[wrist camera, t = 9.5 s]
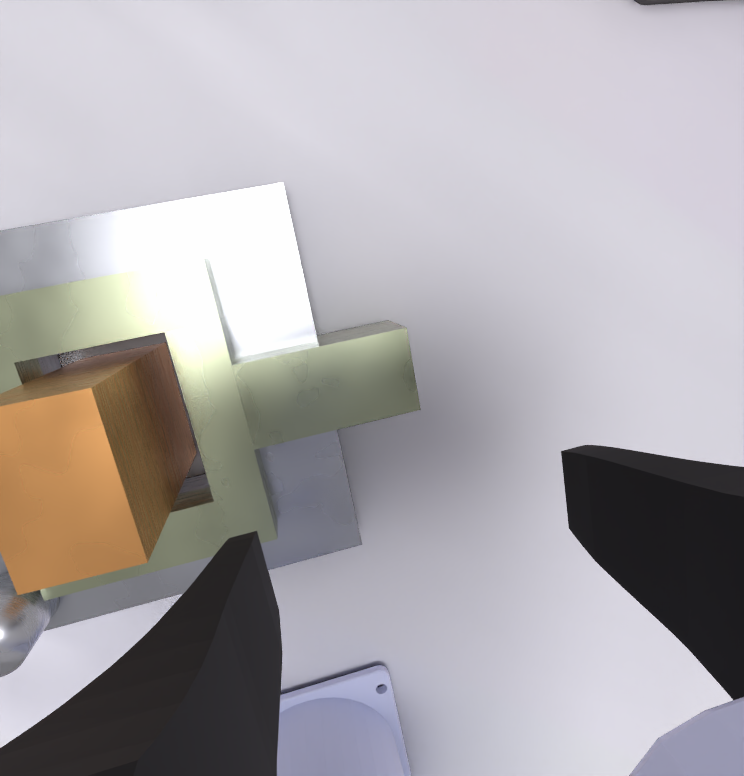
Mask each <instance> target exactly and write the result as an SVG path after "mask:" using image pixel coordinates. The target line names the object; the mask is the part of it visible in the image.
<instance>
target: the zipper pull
mask: <svg viewBox="0 0 744 776" xmlns="http://www.w3.org/2000/svg"><path fill="white" fill-rule="evenodd" d="M635 1H636V2H638V3H639V4H641V5H653V4H669V3H684V2H700V1H721V0H635Z"/></svg>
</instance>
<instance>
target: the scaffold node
mask: <svg viewBox="0 0 744 776" xmlns="http://www.w3.org/2000/svg"><path fill="white" fill-rule="evenodd" d="M162 332H164V333H165V336H166V339H167V343H168V346H169V350H170V353H171V356H172V360H173V363H174V367H175V370H176V374H177V377H178V380H179V384H180V387H181V391H182V394H183V397H184V401H185V404H186V408H187V411H188V414H189V418H190V421H191V425H192V428H193V431H194V435H195V438H196V442H197V445H198V448H199V452H200V455H201V459H202V462H203V465H204V469H205V472H206V474H203V475H199V476H195V477H191V478H187V479H185V480H184V482H183V485H182V487H181V489H180V491H179V494H178V496H177V498H176V500H175V503H174V505H173V507H172V509H171V512H170V514H169V516H168V518H167V521H166V523H165V525H164V527H163V530H162V532H161V534H160V536H159V539H158V541H157V543H156V545H155V548H154V550H153V552H152V554H151V556H150V559H149V561H148V563H145V564H141V565H137V566H133V567H129V568H125V569H121V570H117V571H113V572H109V573H105V574H101V575H97V576H93V577H89V578H85V579H81V580H77V581H73V582H69V583H65V584H61V585H57V586H53V587H49V588H45V589H41V590H37V591H33V592H29V593H25V594H21V595H17V592H16V590H15V587H14V585H13V582H12V580H11V577H10V575H9V572H8V570H7V567H6V565H5V562H4V560H3V557H2V555H1V552H0V677H2V676H5V675H7V674H9V673H11V672H13V671H14V670H16V669H17V668H18V667H19V666H20V665H21V664H22V663H23V661H24V660H25V658H26V657H27V655H28V654H29V652H30V651H31V649H32V648H33V646H34V645H35V643H36V642H37V640H38V638H39V637H40V635H41V634H42V632H43V631H46V630H50V629H53V628H57V627H61V626H64V625H68V624H72V623H75V622H79V621H83V620H86V619H90V618H94V617H97V616H101V615H105V614H108V613H112V612H116V611H119V610H123V609H127V608H130V607H134V606H138V605H141V604H145V603H149V602H152V601H156V600H160V599H164V598H167V597H171V596H175V595H178V594H182V593H185V591H186V590H187V589H188V588H189V587H190V586H191V584H192V583H193V582H194V581H195V579H196V578H197V577H198V576H199V574H200V573H201V572H202V571H203V569H204V568H205V567H206V566H207V564H208V563H209V562H210V561H211V559H212V558H213V557H214V556H215V554H216V553H217V552H218V550H219V549H220V548H221V547H222V545H223V544H224V543H225V542H226V541H227V540H228V539H229V538H231V537H235V536H239V535H243V534H246V533H250V532H254V531H257V532H258V536H259V540H260V543H261V547H262V551H263V554H264V558H265V562H266V565H267V569H268V570H270V569H274V568H277V567H281V566H285V565H288V564H292V563H296V562H299V561H303V560H307V559H310V558H314V557H318V556H322V555H325V554H329V553H333V552H336V551H340V550H344V549H347V548H351V547H355V546H358V545H362V542H361V537H360V533H359V528H358V523H357V519H356V514H355V510H354V505H353V500H352V496H351V491H350V487H349V482H348V478H347V473H346V468H345V464H344V459H343V455H342V450H341V445H340V441H339V436H338V432H337V430H338V429H342V428H346V427H351V426H355V425H359V424H363V423H367V422H371V421H376V420H380V419H384V418H388V417H392V416H396V415H401V414H405V413H409V412H413V411H417V410H421V409H420V404H419V398H418V392H417V386H416V380H415V375H414V369H413V363H412V357H411V351H410V346H409V340H408V334H407V328H406V327H403V326H401V325H398V324H396V323H393V322H391V321H389V320H387V321H382V322H378V323H373V324H368V325H364V326H359V327H354V328H350V329H345V330H340V331H336V332H331V333H326V334H322V335H316V331H315V326H314V322H313V317H312V312H311V308H310V303H309V299H308V294H307V290H306V285H305V280H304V276H303V271H302V267H301V262H300V257H299V253H298V248H297V244H296V239H295V234H294V230H293V225H292V221H291V216H290V212H289V207H288V202H287V198H286V193H285V189H284V184H283V182H282V183H276V184H270V185H264V186H258V187H253V188H247V189H241V190H235V191H229V192H223V193H218V194H212V195H206V196H200V197H194V198H188V199H183V200H177V201H171V202H165V203H159V204H153V205H148V206H142V207H136V208H130V209H124V210H118V211H113V212H107V213H101V214H95V215H89V216H83V217H78V218H72V219H66V220H60V221H54V222H48V223H43V224H37V225H31V226H25V227H19V228H13V229H8V230H2V231H0V394H1V393H3V392H6V391H8V390H10V389H13V388H15V387H17V386H20V385H22V384H24V383H27V382H29V381H31V380H34V379H36V378H38V377H41V376H43V375H45V374H48V373H50V372H52V371H54V370H57V369H59V368H61V364H60V361H59V358H58V355H57V354H59V353H64V352H69V351H74V350H79V349H84V348H89V347H94V346H99V345H104V344H108V343H113V342H118V341H123V340H128V339H133V338H138V337H143V336H148V335H152V334H157V333H162Z"/></svg>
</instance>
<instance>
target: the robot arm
mask: <svg viewBox="0 0 744 776" xmlns="http://www.w3.org/2000/svg"><path fill="white" fill-rule="evenodd" d="M561 454H562V464H563V473H564V483H565V493H566V503H567V513H568V523H569V529H570V530H571V531H572V533H573V534H574V535H575V537H576V538H577V539H578V540H579V542H580V543H581V544H582V546H583V547H584V548H585V549H586V550H587V552H588V553H589V554H590V555H591V556H592V558H593V559H594V560H595V561H596V562H597V563H598V564H599V565H600V566H601V567H602V568H603V569H604V570H605V571H606V572H607V573H608V574H609V575H610V576H611V577H613V578H614V579H615V580H616V581H617V582H618V583H619V584H620V585H621V586H622V587H623V588H624V589H625V590H626V591H627V592H629V593H630V594H631V595H632V596H633V597H634V598H635V599H636V600H637V601H638V602H639V603H640V604H642V605H643V606H644V607H645V608H646V609H647V610H648V611H649V612H650V613H651V614H652V615H653V616H655V617H656V618H657V619H658V620H659V621H660V622H661V623H662V624H663V625H664V626H665V627H666V628H667V629H669V630H670V631H671V632H672V633H673V634H674V635H675V636H676V637H677V638H678V639H679V640H680V641H681V642H682V643H683V644H684V645H685V646H686V647H687V648H688V649H689V650H690V651H691V652H692V654H693V655H694V656H695V657H696V658H697V659H698V660H699V661H700V663H701V664H702V665H703V666H704V667H705V668H706V669H707V670H708V672H709V673H710V674H711V675H712V676H713V677H714V678H715V679H716V681H717V682H718V683H719V684H720V685H721V686H722V687H723V688H724V689H725V691H726V692H727V693H728V694H729V695H730V696H731V698H732V699H733V700H734V701H731V702H728V703H725V704H722V705H719V706H716V707H713V708H711V709H708V710H705V711H703V712H701V713H700V714H698V715H696V716H695V717H693V718H691V719H690V720H688V721H686V722H685V723H683V724H681V725H679V726H678V727H676V728H674V729H673V730H671V731H669V732H668V733H666V734H664V735H663V736H661V737H659V738H658V739H657V740H656V741H655V743H654V744H653V745H652V747H651V748H650V749H649V751H648V752H647V753H646V754H645V756H644V757H643V758H642V760H641V761H640V762H639V763H638V765H637V766H636V767H635V769H634V770H633V771H632V773H631V774H630V775H629V776H744V467H738V466H729V465H722V464H714V463H707V462H699V461H693V460H686V459H680V458H674V457H668V456H662V455H656V454H650V453H644V452H638V451H632V450H626V449H620V448H613V447H606V446H596V445H583V446H580V447H576V448H572V449H568V450H564V451H561ZM281 671H282V642H281V629H280V617H279V609H278V605H277V602H276V598H275V594H274V591H273V587H272V583H271V580H270V576H269V572H268V569H267V565H266V562H265V558H264V554H263V551H262V547H261V543H260V540H259V536H258V532H257V531H254V532H250V533H246V534H243V535H239V536H235V537H231V538H229V539H228V540H227V541H226V542H225V543H224V544H223V545H222V547H221V548H220V549H219V550H218V552H217V553H216V554H215V556H214V557H213V558H212V559H211V561H210V562H209V563H208V564H207V566H206V567H205V568H204V569H203V571H202V572H201V573H200V574H199V576H198V577H197V578H196V579H195V581H194V582H193V583H192V584H191V586H190V587H189V588H188V589H187V590H186V591H185V593H184V594H183V595H182V596H181V597H180V598H179V599H178V600H177V601H176V603H175V604H174V605H173V606H172V607H171V608H170V609H169V610H168V611H167V613H166V614H165V615H164V616H163V617H162V618H161V619H160V620H159V621H158V623H157V624H156V625H155V626H154V627H153V628H152V629H151V630H150V631H149V632H148V633H147V634H146V635H145V636H144V637H143V638H142V639H141V640H140V641H138V642H137V643H136V644H135V645H134V646H133V647H132V648H131V649H130V650H129V651H128V652H126V653H125V654H124V655H123V656H122V657H121V658H120V659H119V660H118V661H117V662H115V663H114V664H113V665H112V666H111V667H110V668H108V669H107V670H106V671H105V672H103V673H102V674H101V675H100V676H98V677H97V678H96V679H95V680H93V681H92V682H91V683H90V684H88V685H87V686H86V687H85V688H83V689H82V690H81V691H80V692H78V693H77V694H76V695H75V696H73V697H72V698H71V699H70V700H68V701H67V702H66V703H65V704H63V705H62V706H60V707H59V708H58V709H56V710H55V711H54V712H52V713H51V714H49V715H48V716H47V717H45V718H44V719H42V720H41V721H40V722H38V723H37V724H35V725H34V726H33V727H31V728H30V729H28V730H27V731H25V732H24V733H22V734H21V735H19V736H18V737H16V738H15V739H13V740H12V741H10V742H9V743H7V744H6V745H4V746H3V747H2V748H0V776H412V775H411V771H410V766H409V762H408V757H407V753H406V748H405V743H404V739H403V734H402V730H401V725H400V721H399V716H398V711H397V707H396V702H395V698H394V693H393V689H392V684H391V679H390V675H389V672H388V669H387V668H386V667H385V666H381V665H378V666H374V667H371V668H367V669H364V670H361V671H357V672H354V673H351V674H348V675H344V676H341V677H338V678H335V679H331V680H328V681H325V682H322V683H318V684H315V685H312V686H308V687H305V688H302V689H299V690H295V691H292V692H289V693H286V694H282V695H280V692H281ZM380 684H384V686H382V687H377V686H378V685H380Z"/></svg>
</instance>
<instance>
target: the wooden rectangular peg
mask: <svg viewBox="0 0 744 776" xmlns="http://www.w3.org/2000/svg"><path fill="white" fill-rule="evenodd" d="M196 453H197V452H196V449H195V445H194V442H193V438H192V435H191V431H190V427H189V424H188V420H187V417H186V413H185V409H184V406H183V402H182V399H181V395H180V392H179V388H178V384H177V381H176V377H175V374H174V370H173V367H172V363H171V359H170V356H169V352H168V349H167V345H166V342H165V343H160V344H155V345H150V346H145V347H139V348H134V349H129V350H124V351H119V352H114V353H108V354H103V355H98V356H93V357H88V358H83V359H80V360H78V361H75V362H73V363H71V364H68V365H66V366H64V367H61V368H59V369H57V370H54V371H52V372H50V373H48V374H45V375H43V376H41V377H38V378H36V379H34V380H31V381H29V382H27V383H24V384H22V385H20V386H17V387H15V388H13V389H10V390H8V391H6V392H3V393H1V394H0V552H1V555H2V557H3V560H4V562H5V565H6V567H7V570H8V572H9V575H10V577H11V580H12V582H13V585H14V587H15V590H16V592H17V595H21V594H25V593H29V592H33V591H37V590H41V589H45V588H49V587H53V586H57V585H61V584H65V583H69V582H73V581H77V580H81V579H85V578H89V577H93V576H97V575H101V574H105V573H109V572H113V571H117V570H121V569H125V568H129V567H133V566H137V565H141V564H145V563H148V561H149V559H150V556H151V554H152V552H153V550H154V548H155V545H156V543H157V541H158V539H159V536H160V534H161V532H162V530H163V527H164V525H165V523H166V521H167V518H168V516H169V514H170V512H171V509H172V507H173V505H174V503H175V500H176V498H177V496H178V494H179V491H180V489H181V487H182V485H183V482H184V480H185V478H186V476H187V474H188V471H189V469H190V467H191V465H192V462H193V460H194V458H195V456H196Z"/></svg>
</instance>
